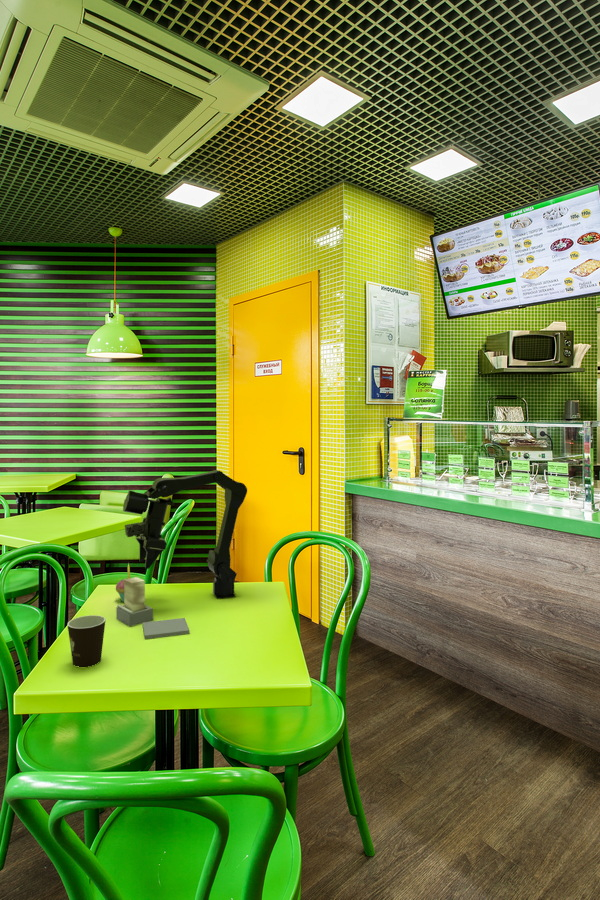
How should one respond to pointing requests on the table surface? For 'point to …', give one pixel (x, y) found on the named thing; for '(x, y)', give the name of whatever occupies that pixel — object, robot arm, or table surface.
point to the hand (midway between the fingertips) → (143, 564)
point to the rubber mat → (165, 628)
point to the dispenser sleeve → (134, 615)
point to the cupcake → (122, 585)
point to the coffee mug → (86, 639)
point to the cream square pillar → (134, 594)
